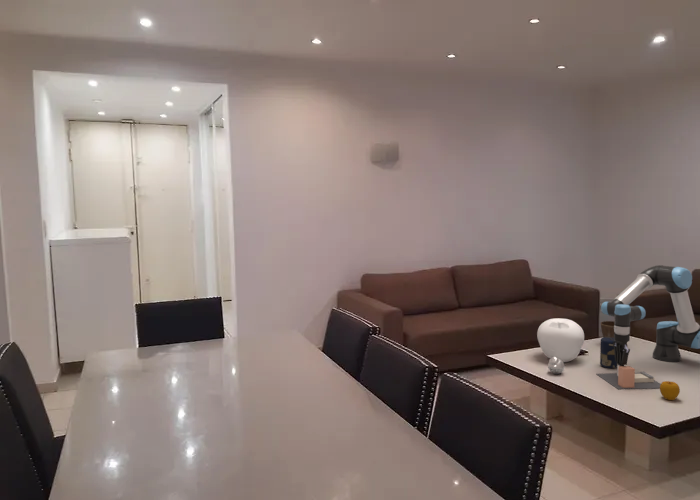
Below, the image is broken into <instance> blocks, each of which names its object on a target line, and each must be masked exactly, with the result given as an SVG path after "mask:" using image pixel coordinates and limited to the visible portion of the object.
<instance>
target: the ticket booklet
mask: <svg viewBox="0 0 700 500" xmlns="http://www.w3.org/2000/svg"><path fill="white" fill-rule="evenodd" d="M639 373H641V374H635V382H634V383H639V382H654V380H655V377H654V376H653V375H651V374H650V373H648V372H645V371H640V372H639Z"/></svg>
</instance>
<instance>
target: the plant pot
mask: <svg viewBox="0 0 700 500" xmlns="http://www.w3.org/2000/svg"><path fill="white" fill-rule="evenodd" d="M614 323H615V320H613V321H612V320H606V321H605V320H604V321H601V322H600V331H601V335H602V338H604V337H610V338H614V333H615V332H614Z"/></svg>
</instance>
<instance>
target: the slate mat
mask: <svg viewBox="0 0 700 500" xmlns="http://www.w3.org/2000/svg"><path fill="white" fill-rule="evenodd" d="M635 374H641V373H640V372H635ZM596 376H598V377H599V378H601V379H602V380H604V381H605V382H607V383H608V384H610V385H611V386H612V387H614V388H615V389H616V390H656V389H657V390H658V389H659V390H660V385H661V383H660V382H659V381H656V380H655V379H654V382H639V383H634V388H623V387H621V386H620V385H618V376H617V372H611V373H607V372H605V373H596Z"/></svg>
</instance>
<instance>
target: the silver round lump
mask: <svg viewBox="0 0 700 500" xmlns="http://www.w3.org/2000/svg"><path fill="white" fill-rule="evenodd" d="M565 367H566V366H565V362H563V361H562V360H560V359H558V358H557V357H552V358H549V360H548V365H547V368H548V370H549V371H550V372H551V373H552V374H555V375H558V374H561V373H564V371H565V369H566V368H565Z"/></svg>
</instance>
